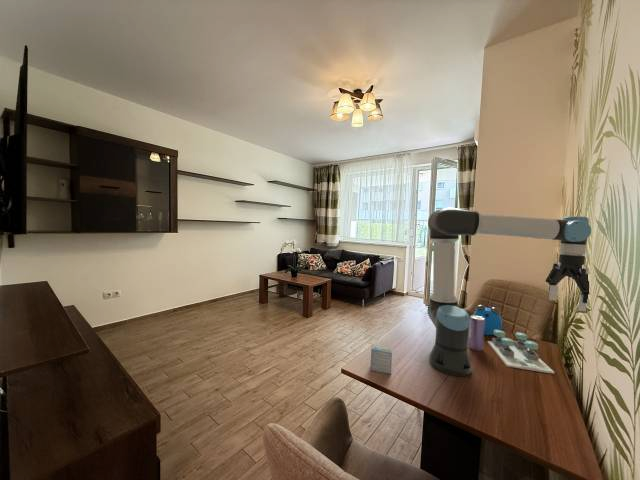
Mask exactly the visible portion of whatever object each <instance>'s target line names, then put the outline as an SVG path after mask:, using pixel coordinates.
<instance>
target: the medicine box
mask: <svg viewBox="0 0 640 480" xmlns="http://www.w3.org/2000/svg"><path fill="white" fill-rule="evenodd" d="M392 359H393V347H389V346H385V345H376V344H375V345H374V344H372V345H371V348H370V368H369V371H372V372H377V373H378V372H379V373H383V374H390V375H391V374H392V362H393V360H392Z"/></svg>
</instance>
